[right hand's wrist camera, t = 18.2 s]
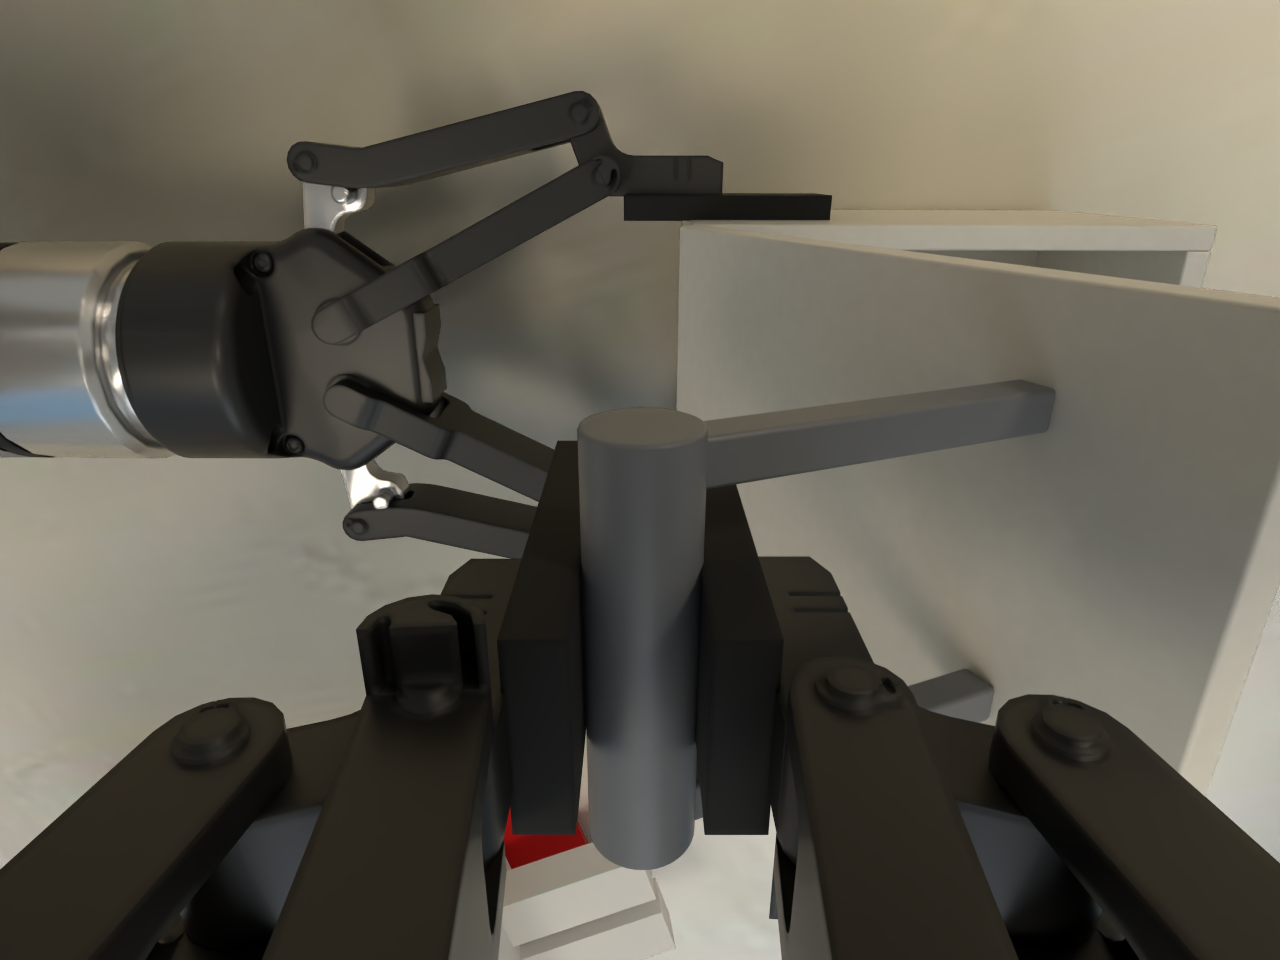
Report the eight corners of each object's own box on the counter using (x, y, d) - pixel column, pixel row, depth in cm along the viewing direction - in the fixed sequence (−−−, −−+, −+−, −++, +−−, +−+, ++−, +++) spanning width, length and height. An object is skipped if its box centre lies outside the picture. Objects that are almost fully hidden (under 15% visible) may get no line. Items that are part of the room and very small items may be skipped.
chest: (1054, 210, 31) (1219, 226, 22) (1013, 425, 35) (1142, 517, 25) (682, 209, 32) (691, 224, 22) (678, 422, 35) (684, 512, 26)
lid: (1380, 309, 8) (729, 381, 6) (1168, 908, 12) (695, 1155, 9) (705, 225, 22) (413, 233, 19) (696, 515, 25) (446, 561, 22)
